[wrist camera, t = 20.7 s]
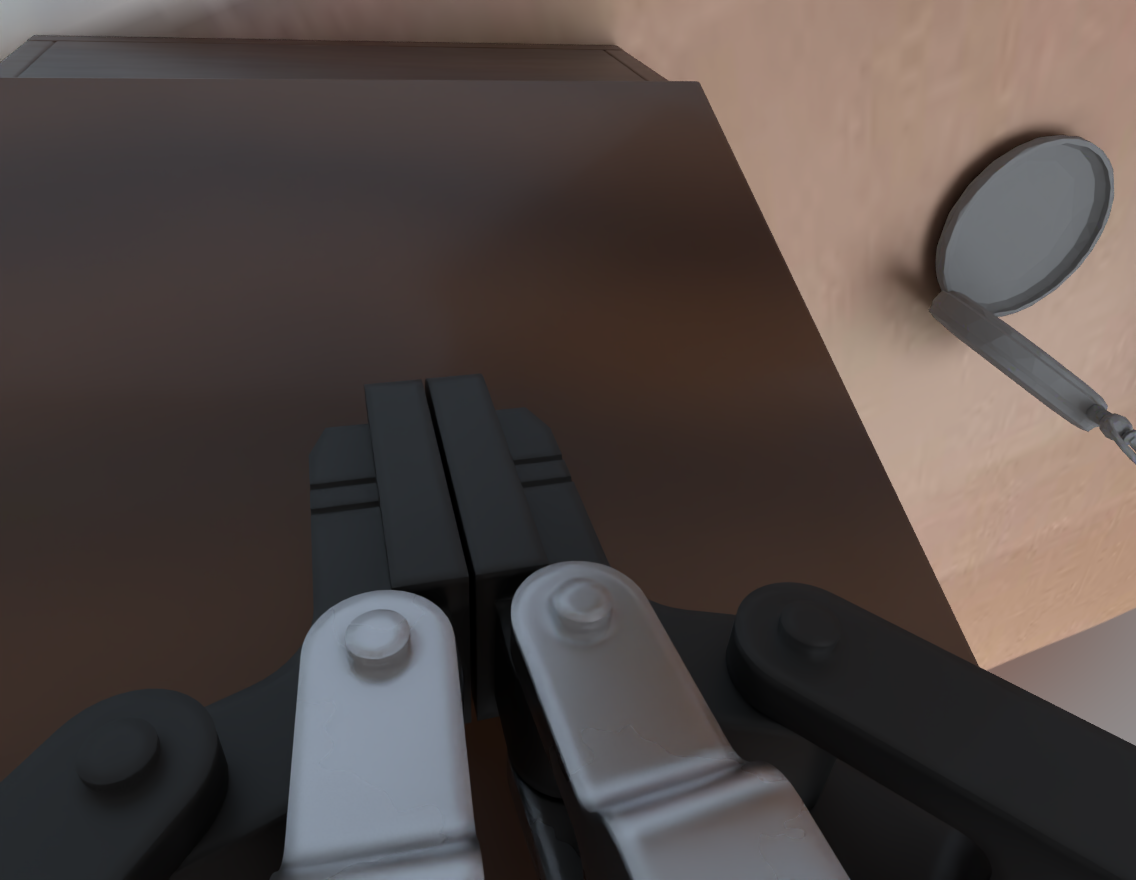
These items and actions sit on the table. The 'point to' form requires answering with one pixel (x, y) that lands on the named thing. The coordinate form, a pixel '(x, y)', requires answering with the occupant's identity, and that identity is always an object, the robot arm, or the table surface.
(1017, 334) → the pocket watch
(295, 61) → the box
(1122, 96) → the table surface
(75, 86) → the lid
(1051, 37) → the table surface
